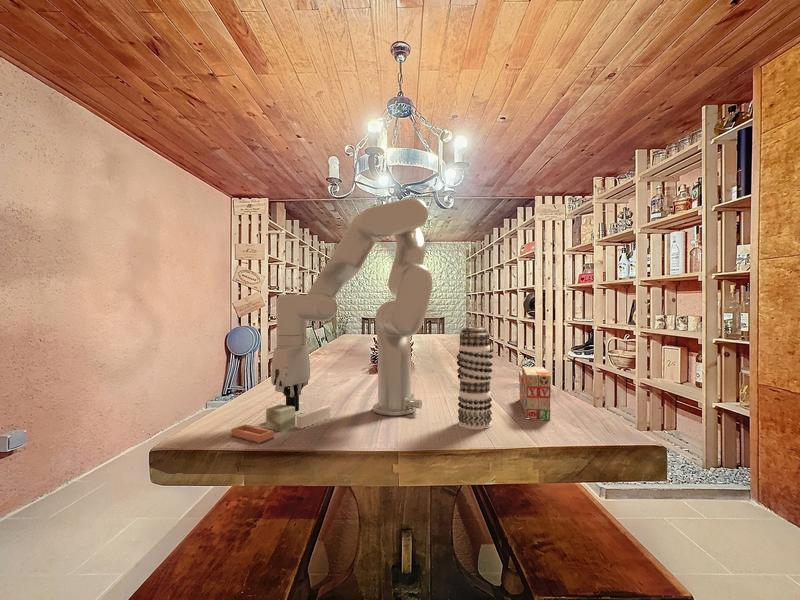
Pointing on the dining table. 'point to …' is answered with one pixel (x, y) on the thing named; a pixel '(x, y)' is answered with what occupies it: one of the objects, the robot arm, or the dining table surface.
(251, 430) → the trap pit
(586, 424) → the dining table surface
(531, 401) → the stack of blocks
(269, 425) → the sage block
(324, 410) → the walled channel
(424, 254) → the robot arm
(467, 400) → the decorative candle
